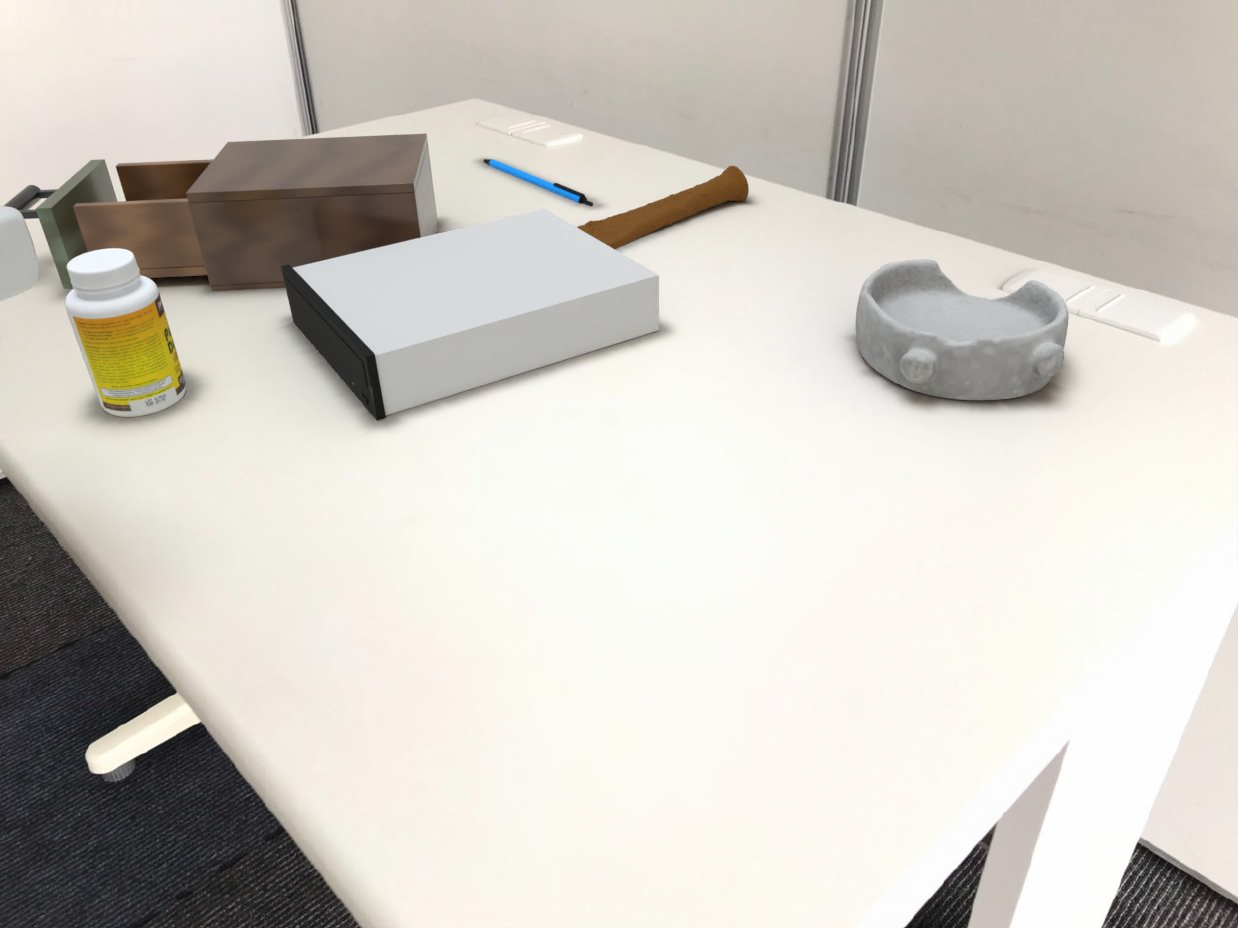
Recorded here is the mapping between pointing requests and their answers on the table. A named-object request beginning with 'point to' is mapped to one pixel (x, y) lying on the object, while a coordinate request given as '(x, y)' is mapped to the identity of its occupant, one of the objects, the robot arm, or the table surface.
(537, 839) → the table surface
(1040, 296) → the dish
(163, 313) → the supplement bottle
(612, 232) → the primitive tool
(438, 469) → the table surface
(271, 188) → the cabinet
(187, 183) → the drawer
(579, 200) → the pen
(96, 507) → the table surface
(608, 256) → the disc drive
